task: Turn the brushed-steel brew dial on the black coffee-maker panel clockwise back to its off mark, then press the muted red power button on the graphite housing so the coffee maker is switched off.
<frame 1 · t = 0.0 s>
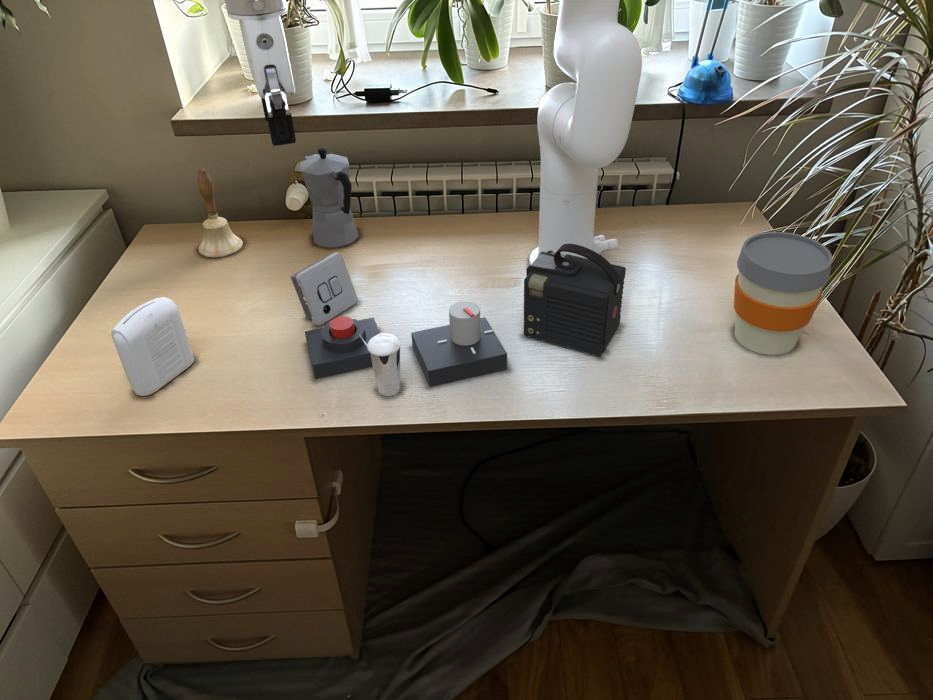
hand: (280, 131, 106), 31 cm above the table, tool pointing down, fingers open, 9 cm apart
hand bell: (221, 248, 144), on the table
power button: (342, 327, 112), point 5 cm above the table, slide at 0.2 cm
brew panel: (458, 358, 113), on the table
power housing: (346, 354, 115), on the table
coffeepot: (338, 239, 145), on the table
electrical switch: (327, 311, 125), on the table
photo printer: (165, 377, 112), on the table
camera: (571, 330, 118), on the table
reusable coffee cup: (764, 338, 115), on the table
milkshake: (386, 390, 108), on the table
brew dial: (465, 322, 111), point 6 cm above the table, hinge at 105.0°
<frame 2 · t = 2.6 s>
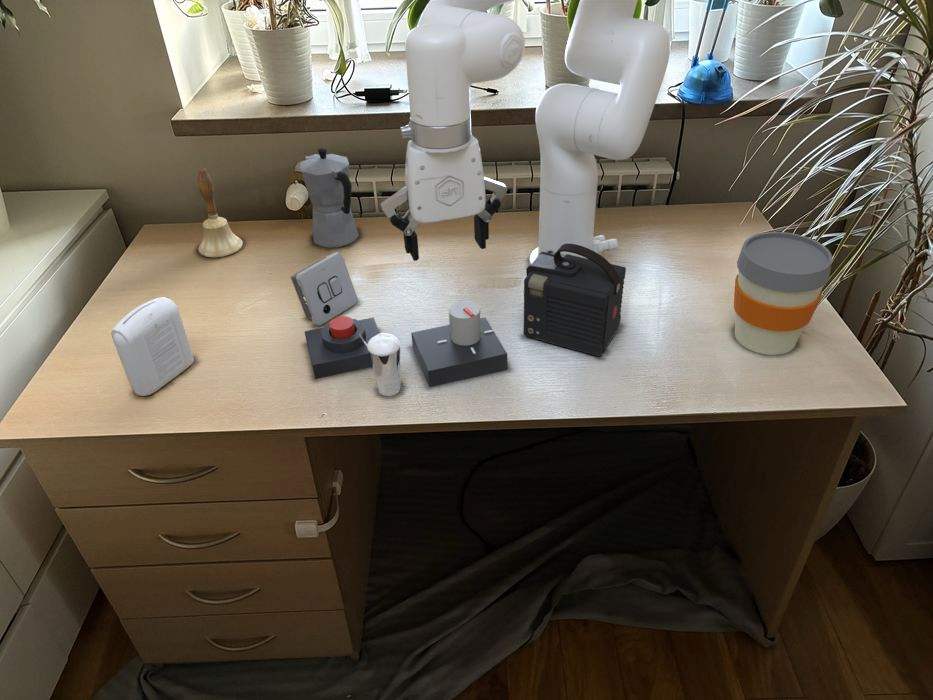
hand: (447, 250, 104), 18 cm above the table, tool pointing down, fingers open, 9 cm apart
nothing on the table moved.
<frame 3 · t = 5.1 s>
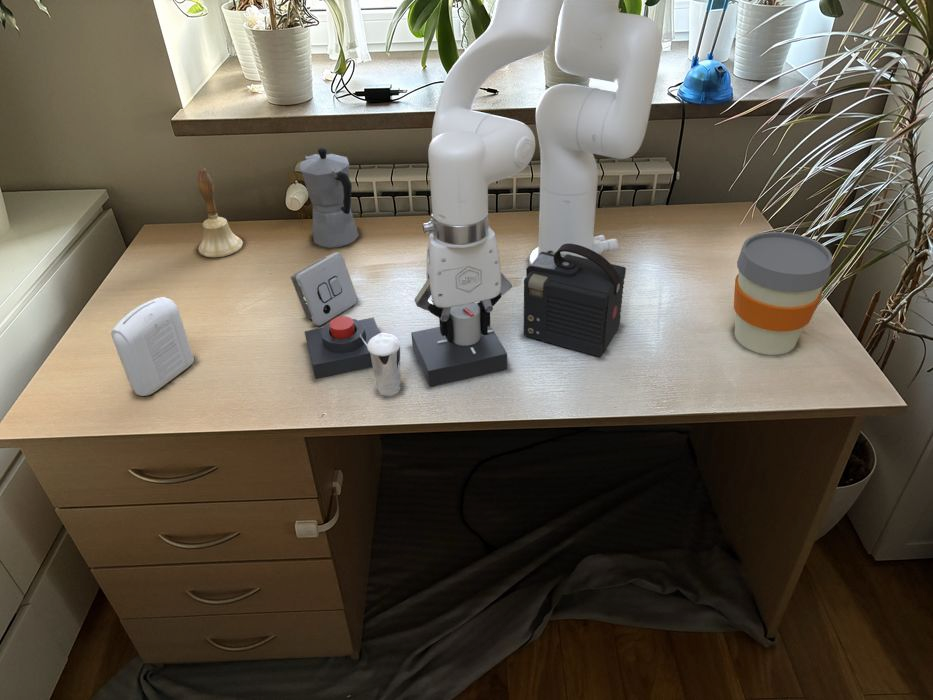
hand: (465, 332, 112), 4 cm above the table, tool pointing down, fingers closed on brew dial, 4 cm apart
brew dial: (465, 322, 111), point 6 cm above the table, hinge at 104.9°, touching gripper
everything else where it was.
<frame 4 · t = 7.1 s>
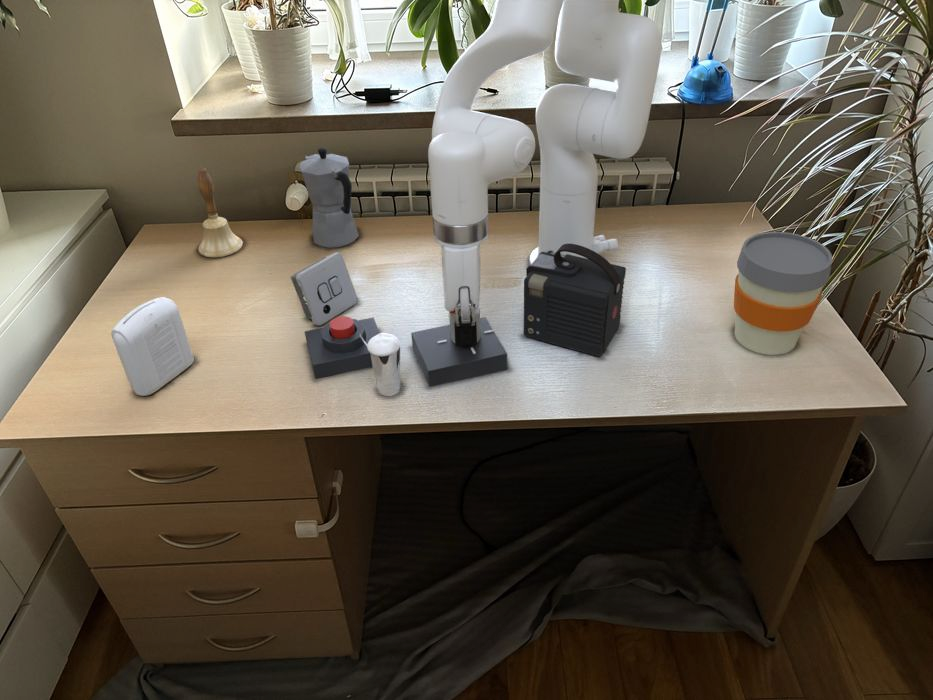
hand: (465, 333, 112), 4 cm above the table, tool pointing down, fingers closed on brew dial, 4 cm apart
brew dial: (465, 322, 111), point 6 cm above the table, hinge at 0.3°, touching gripper
everything else where it was.
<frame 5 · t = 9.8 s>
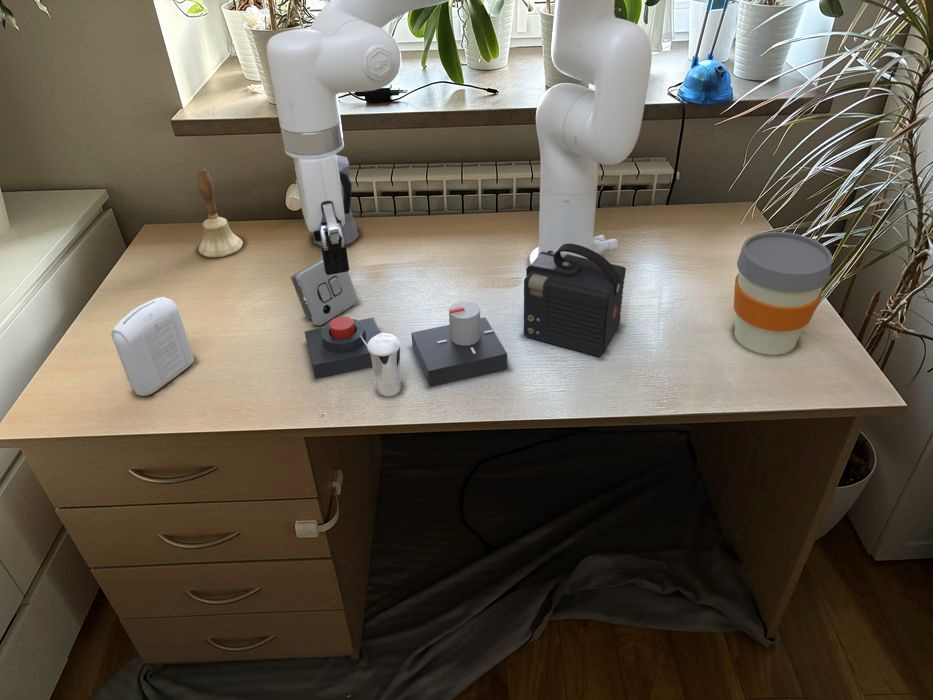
hand: (331, 255, 104), 18 cm above the table, tool pointing down, fingers open, 9 cm apart
brew dial: (465, 322, 111), point 6 cm above the table, hinge at 0.6°
everything else where it was.
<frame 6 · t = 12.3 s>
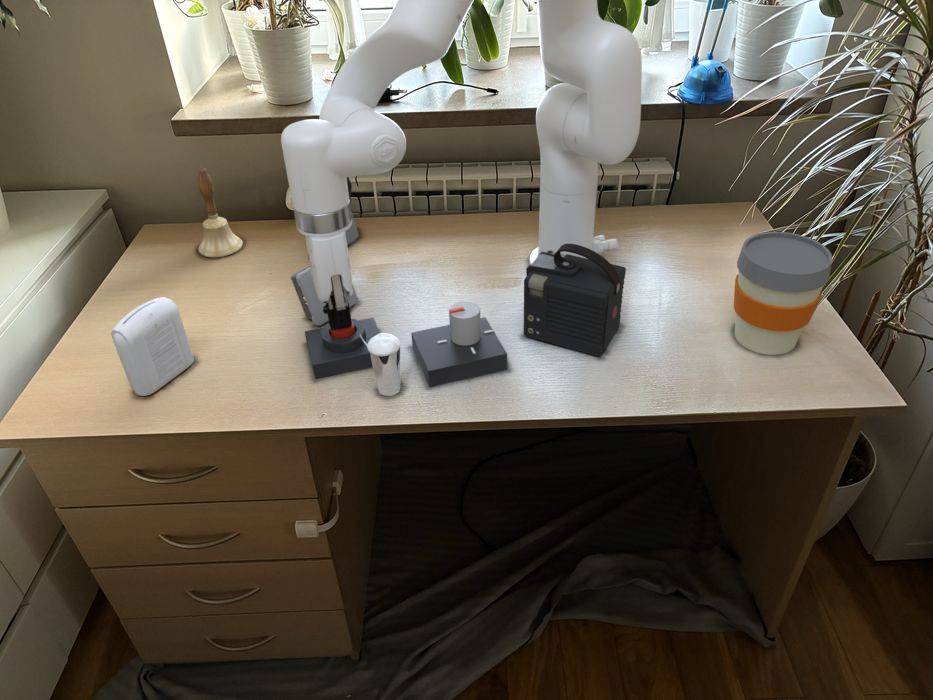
hand: (340, 325, 112), 5 cm above the table, tool pointing down, fingers closed
power button: (342, 330, 112), point 5 cm above the table, slide at -0.3 cm, touching gripper
everything else where it was.
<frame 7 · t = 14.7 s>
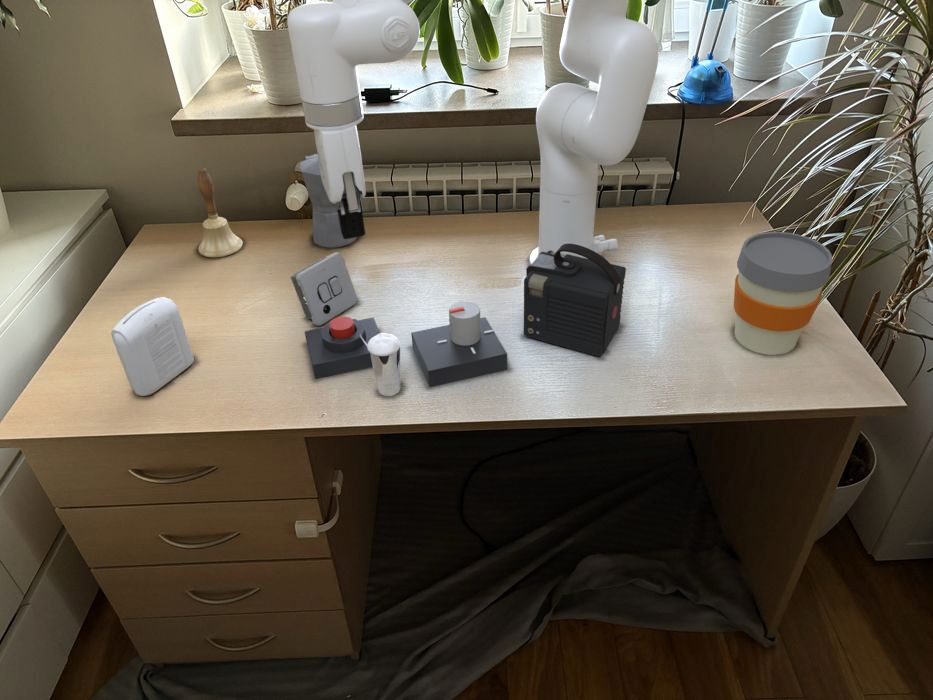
hand: (353, 234, 107), 19 cm above the table, tool pointing down, fingers closed
power button: (342, 327, 112), point 5 cm above the table, slide at 0.2 cm
everything else where it was.
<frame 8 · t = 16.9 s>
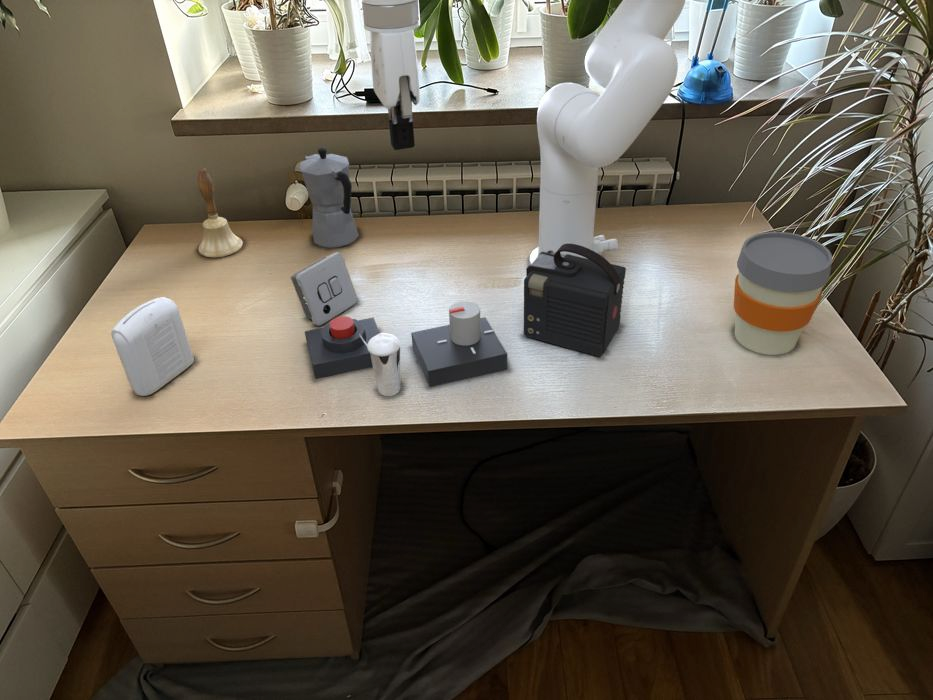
hand: (403, 146, 110), 27 cm above the table, tool pointing down, fingers closed
nothing on the table moved.
at the end: brew dial at +1° (first picture: +105°); power button pushed in 1.1 cm at the most during the clip, back to 0.2 cm at the end; power button slide at 0.2 cm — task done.
